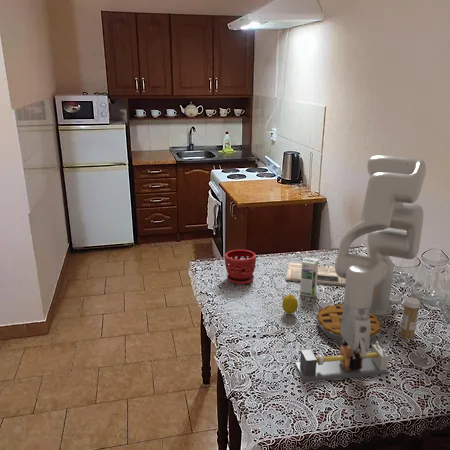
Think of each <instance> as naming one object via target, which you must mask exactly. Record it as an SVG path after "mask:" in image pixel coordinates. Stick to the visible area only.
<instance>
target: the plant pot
mask: <svg viewBox="0 0 450 450" xmlns="http://www.w3.org/2000/svg"><path fill="white" fill-rule="evenodd" d="M241 258H243V259H241ZM256 263H257V255H256V253H255V252H253V251H251V250H248V249H234V250H233V249H232V250H230V251H227V252H226V253H225V254H224V264H225V268H226V272H227V275H226V279H227V280H228V281H229V282H230V283H232V284H234V285H248V284H250V283H252V282H253V281H254V279H255V275H254V272H255V269H256ZM247 283H248V284H247Z"/></svg>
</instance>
